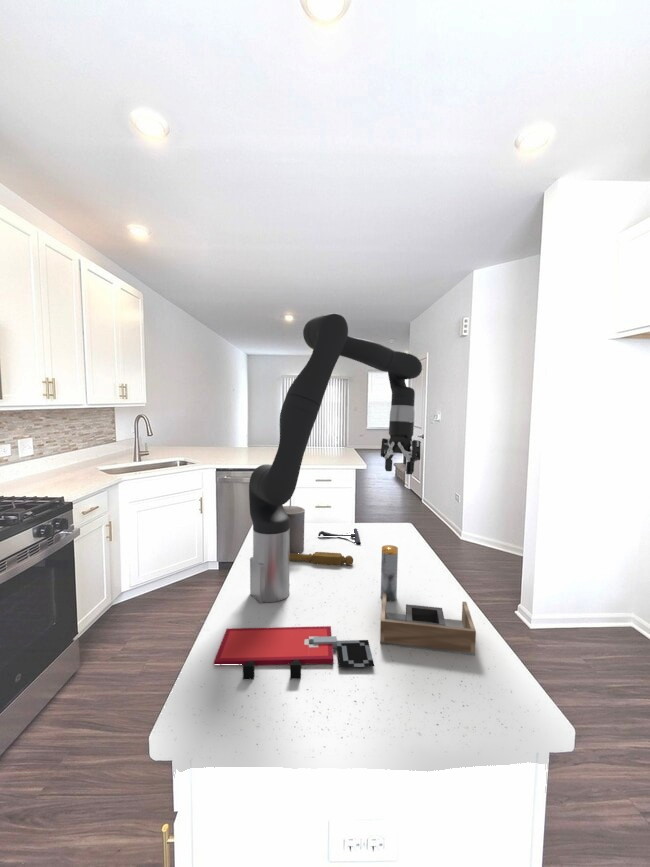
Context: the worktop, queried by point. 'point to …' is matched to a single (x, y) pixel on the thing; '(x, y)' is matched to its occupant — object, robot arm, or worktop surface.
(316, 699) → the worktop surface
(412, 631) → the socket box
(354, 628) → the worktop surface
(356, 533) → the bracket
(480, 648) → the worktop surface
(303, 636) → the red board with handle
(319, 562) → the tap handle
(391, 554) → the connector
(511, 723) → the worktop surface
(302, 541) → the pillar candle
